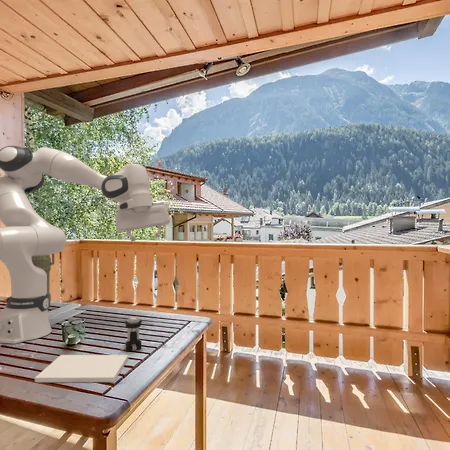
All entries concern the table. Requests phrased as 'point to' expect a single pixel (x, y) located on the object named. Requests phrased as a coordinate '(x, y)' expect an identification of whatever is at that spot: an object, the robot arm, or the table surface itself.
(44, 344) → the table surface
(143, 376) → the table surface
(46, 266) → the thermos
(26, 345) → the table surface
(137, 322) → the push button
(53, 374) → the board
